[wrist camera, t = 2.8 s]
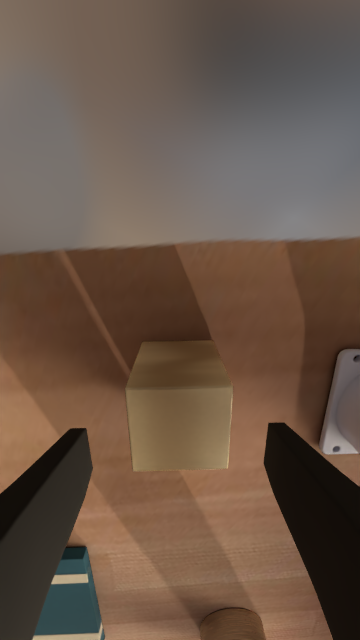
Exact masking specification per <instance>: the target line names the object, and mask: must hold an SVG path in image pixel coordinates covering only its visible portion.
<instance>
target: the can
mask: <svg viewBox="0 0 360 640" xmlns="http://www.w3.org/2000/svg"><path fill="white" fill-rule="evenodd" d="M200 637H201V640H266V637H265V633H264V629H263V625H262V621H261V619H260V617H259V616H258V615H257V614H256V613H254V612H252V611H249V610H246V609H240V608H230V609H223V610H219V611H216V612H214V613H212V614H210V615H208V616H207V617H206V618H205V619H204V620H203V621H202V623H201V625H200Z"/></svg>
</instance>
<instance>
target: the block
mask: <svg viewBox="0 0 360 640" xmlns="http://www.w3.org/2000/svg"><path fill="white" fill-rule="evenodd" d="M125 398H126V408H127V419H128V429H129V439H130V450H131V460H132V470H133V471H134V472H135V471H170V470H204V469H227V468H228V461H229V445H230V430H231V415H232V400H233V385H232V383H231V380H230V378H229V376H228V373H227V371H226V369H225V366H224V364H223V362H222V360H221V357H220V355H219V353H218V350H217V348H216V346H215V343H214V341H213V340H200V341H148V342H142V344H141V347H140V349H139V352H138V355H137V357H136V360H135V363H134V365H133V368H132V371H131V374H130V376H129V379H128V382H127V384H126V387H125Z"/></svg>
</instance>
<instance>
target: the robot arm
mask: <svg viewBox="0 0 360 640" xmlns="http://www.w3.org/2000/svg"><path fill="white" fill-rule="evenodd" d="M356 355H357V357H356V358H355V359H354V357H355V356H356ZM319 448H320V450H321V451H322V453H324V454H358V453H359V454H360V349H345V350H343V351H341V352H340V353H339V355H338V358H337V362H336V367H335V372H334V376H333V381H332V386H331V391H330V395H329V400H328V405H327V409H326V414H325V419H324V424H323V428H322V433H321V438H320V443H319ZM264 466H265V469H266V472H267V475H268V478H269V482H270V485H271V487H272V490H273V493H274V496H275V498H276V500H277V503H278V505H279V507H280V510H281V512H282V514H283V517H284V519H285V521H286V524H287V526H288V528H289V530H290V533H291V535H292V537H293V539H294V542H295V544H296V546H297V549H298V551H299V553H300V555H301V558H302V560H303V562H304V565H305V567H306V569H307V571H308V574H309V576H310V579H311V581H312V584H313V586H314V589H315V591H316V593H317V596H318V599H319V602H320V604H321V607H322V610H323V613H324V615H325V618H326V621H327V624H328V627H329V629H330V632H331V635H332V638H333V640H360V487H359V486H357V485H356V484H355V483H354V482H352V481H351V480H350V479H349V478H348V477H346V476H345V475H344V474H343V473H342V472H340V471H339V470H338V469H337V468H336V467H334V466H333V465H332V464H331V463H330V462H328V461H327V460H326V459H325V458H324V457H323V456H321V455H320V454H319V453H318V452H317V451H316V450H315V449H313V448H312V447H311V446H310V445H309V444H308V443H307V442H306V441H304V440H303V439H302V438H301V437H300V436H299V435H298V434H297V433H295V432H294V431H293V430H292V429H291V428H290V427H289V426H287V425H286V424H285V423H269V424H268V432H267V440H266V448H265V456H264ZM92 469H93V467H92V461H91V454H90V448H89V442H88V436H87V430H86V428H72V429H70V430H68V431H67V432H66V433H65V434H64V435H63V436H62V437H61V438H60V439H59V440H58V441H57V442H56V443H55V444H54V445H53V446H52V447H51V448H50V449H49V450H47V451H46V452H45V453H44V454H43V455H42V456H41V457H40V458H39V459H38V460H37V461H36V462H35V463H34V464H33V465H32V466H31V467H30V468H28V469H27V470H26V471H25V472H24V473H23V474H22V475H21V476H20V477H19V478H18V479H17V480H16V481H15V482H13V483H12V484H11V485H10V486H9V487H8V488H7V489H5V490H4V491H3V492H2V493H1V494H0V640H33V636H34V633H35V630H36V627H37V624H38V621H39V618H40V615H41V611H42V608H43V605H44V602H45V600H46V597H47V594H48V591H49V589H50V586H51V583H52V581H53V578H54V575H55V573H56V570H57V568H58V565H59V563H60V560H61V558H62V555H63V552H64V550H65V547H66V545H67V542H68V540H69V537H70V535H71V532H72V530H73V527H74V524H75V522H76V519H77V517H78V514H79V511H80V509H81V506H82V504H83V501H84V498H85V495H86V491H87V488H88V484H89V480H90V477H91V473H92Z"/></svg>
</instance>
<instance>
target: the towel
mask: <svg viewBox="0 0 360 640" xmlns="http://www.w3.org/2000/svg"><path fill="white" fill-rule="evenodd" d="M104 639H105V635H104V630H103V625H102V620H101V615H100V610H99V605H98V600H97V595H96V591H95V586H94V581H93V576H92V571H91V566H90V561H89V556H88V551H87V547H76V548H65V550H64V552H63V555H62V558H61V560H60V563H59V565H58V568H57V570H56V573H55V575H54V578H53V581H52V583H51V586H50V589H49V591H48V594H47V597H46V600H45V602H44V605H43V608H42V611H41V615H40V618H39V621H38V624H37V627H36V630H35V633H34V636H33V640H104Z"/></svg>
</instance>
